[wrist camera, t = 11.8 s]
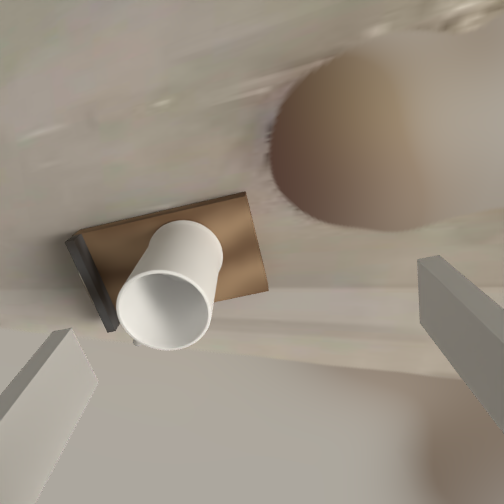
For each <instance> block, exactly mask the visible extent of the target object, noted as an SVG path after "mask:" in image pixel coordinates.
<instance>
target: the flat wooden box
mask: <svg viewBox="0 0 504 504" xmlns="http://www.w3.org/2000/svg"><path fill="white" fill-rule="evenodd" d="M178 220H188V221H194V222H197V223H199V224H202V225H203V226H205V227H207V228H208V229H209V230H211V231H212V232H213V233H214V235H215V236H216V237H217V239H218V240H219V242H220V244H221V247H222V252H223V262H222V266H221V269H220V271H219V273H218V279H217V285H216V291H215V297H214V302H217V301H222V300H227V299H232V298H237V297H241V296H246V295H251V294H256V293H261V292H266V291H269V289H268V282H267V277H266V273H265V269H264V265H263V261H262V257H261V253H260V249H259V245H258V240H257V236H256V232H255V228H254V224H253V220H252V216H251V212H250V208H249V203H248V199H247V195H246V192H242V193H237V194H233V195H229V196H224V197H220V198H216V199H211V200H207V201H203V202H198V203H194V204H190V205H185V206H181V207H177V208H172V209H168V210H164V211H159V212H155V213H151V214H146V215H142V216H138V217H133V218H129V219H125V220H120V221H116V222H112V223H107V224H103V225H99V226H94V227H90V228H86V229H82V230H79V231H78V232H77V233H75V234H74V235H73V236H72V237H71V238H70V239H68V240H67V241H66V242H65V244H66V246H67V248H68V250H69V252H70V254H71V256H72V259H73V261H74V263H75V265H76V267H77V269H78V271H79V272H78V273H79V276H80V278H81V280H82V282H83V284H84V286H85V288H86V290H87V292H88V294H89V297H90V299H91V301H92V303H93V305H95V307H96V309H97V311H98V313H99V316H100V318H101V320H102V322H103V324H104V326H105V328H106V330H107V332H113V331H116V329H117V327H118V326H119V324H120V322H119V319H118V316H117V312H116V301H117V297H118V294H119V292H120V290H121V288H122V287H123V285H124V283H125V282H126V280H127V279H128V277H129V276H130V274H131V273H132V271H133V270H134V268H135V266H136V265H137V263H138V262H139V260H140V259H141V257H142V256H143V254H144V253H145V251H146V250H147V248H148V246H149V242H150V240H151V238H152V236H153V235H154V233H155V232H156V231H157V230H158V229H159V228H160V227H162V226H163V225H165V224H167V223H170V222H173V221H178Z"/></svg>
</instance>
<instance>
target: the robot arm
mask: <svg viewBox="0 0 504 504" xmlns="http://www.w3.org/2000/svg"><path fill="white" fill-rule="evenodd" d="M417 265H418V289H419V313H420V324H421V325H422V326H423V328H424V329H425V330H426V332H427V333H428V334H429V336H430V337H431V338H432V340H433V341H434V342H435V344H436V345H437V346H438V347H439V349H440V350H441V351H442V353H443V354H444V355H445V357H446V358H447V359H448V361H449V362H450V363H451V365H452V366H453V367H454V369H455V370H456V371H457V373H458V374H459V375H460V377H461V378H462V379H463V381H464V382H465V383H466V385H467V386H468V387H469V389H470V390H471V391H472V393H473V394H474V395H475V397H476V398H477V399H478V400H479V402H480V403H481V404H482V406H483V407H484V408H485V410H486V411H487V412H488V414H489V415H490V416H491V418H492V419H493V420H494V422H495V423H496V424H497V426H498V427H499V428H500V430H501V431H502V432H503V434H504V309H503V308H502V307H501V306H499V305H498V304H497V303H496V302H495V301H493V300H492V299H491V298H490V297H489V296H487V295H486V294H485V293H484V292H483V291H481V290H480V289H479V288H478V287H477V286H475V285H474V284H473V283H472V282H471V281H469V280H468V279H467V278H466V277H465V276H463V275H462V274H461V273H460V272H459V271H457V270H456V269H455V268H454V267H453V266H452V265H450V264H449V263H448V262H447V261H446V260H444V259H443V258H442V257H441V256H440V255H437V256H432V257H427V258H422V259H417ZM98 383H99V381H98V379H97V377H96V375H95V373H94V371H93V369H92V367H91V365H90V363H89V361H88V360H87V357H86V355H85V353H84V351H83V349H82V348H81V345H80V343H79V342H78V340H77V338H76V336H75V334H74V332H73V330H72V328H68V329H63V330H58V331H53V332H52V333H51V335H50V336H49V337H48V338H47V339H46V341H45V342H44V343H43V344H42V346H41V347H40V348H39V349H38V350H37V351H36V353H35V354H34V355H33V357H32V358H31V359H30V360H29V361H28V362H27V364H26V365H25V366H24V367H23V368H22V370H21V371H20V372H19V373H18V374H17V376H16V377H15V378H14V379H13V380H12V382H11V383H10V384H9V385H8V387H7V388H6V389H5V390H4V391H3V392H2V394H1V395H0V504H35V503H36V502H37V500H38V498H39V496H40V494H41V492H42V490H43V488H44V486H45V484H46V482H47V480H48V479H49V477H50V475H51V473H52V471H53V469H54V467H55V465H56V463H57V461H58V459H59V458H60V456H61V454H62V452H63V450H64V448H65V446H66V444H67V442H68V440H69V438H70V436H71V434H72V433H73V431H74V429H75V427H76V425H77V423H78V421H79V419H80V417H81V415H82V414H83V412H84V410H85V408H86V406H87V404H88V402H89V400H90V398H91V396H92V394H93V392H94V391H95V389H96V387H97V385H98Z"/></svg>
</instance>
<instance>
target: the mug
mask: <svg viewBox="0 0 504 504" xmlns="http://www.w3.org/2000/svg"><path fill="white" fill-rule="evenodd" d="M222 262H223V252H222V247H221V244H220V242H219V240H218V239H217V237H216V236H215V235H214V233H213V232H212V231H211V230H209V229H208V228H207V227H205V226H203V225H202V224H199V223H197V222H194V221H188V220H178V221H173V222H170V223H167V224H165V225H163V226H162V227H160V228H159V229H158V230H157V231H156V232H155V233H154V235H153V236H152V238H151V240H150V242H149V246H148V248H147V250H146V251H145V253H144V254H143V256H142V257H141V259H140V260H139V262H138V263H137V265H136V266H135V268H134V270H133V271H132V273H131V274H130V276H129V277H128V279H127V280H126V282H125V283H124V285H123V287H122V288H121V290H120V292H119V294H118V297H117V301H116V312H117V316H118V319H119V322H120V324H121V326H122V327H123V329H124V330H125V331H126V332H127V333H128V334H129V335H130V336H131V337H132V338H133V344H134V345H136V346H141V345H142V344H143V345H145V346H147V347H150V348H154V349H158V350H177V349H182V348H185V347H188V346H190V345H192V344H194V343H195V342H197V341H198V340H199V339H200V338H201V337H202V336H203V335H204V334H205V332H206V331H207V329H208V327H209V324H210V321H211V316H212V310H213V304H214V297H215V291H216V285H217V279H218V273H219V271H220V269H221V266H222Z"/></svg>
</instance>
